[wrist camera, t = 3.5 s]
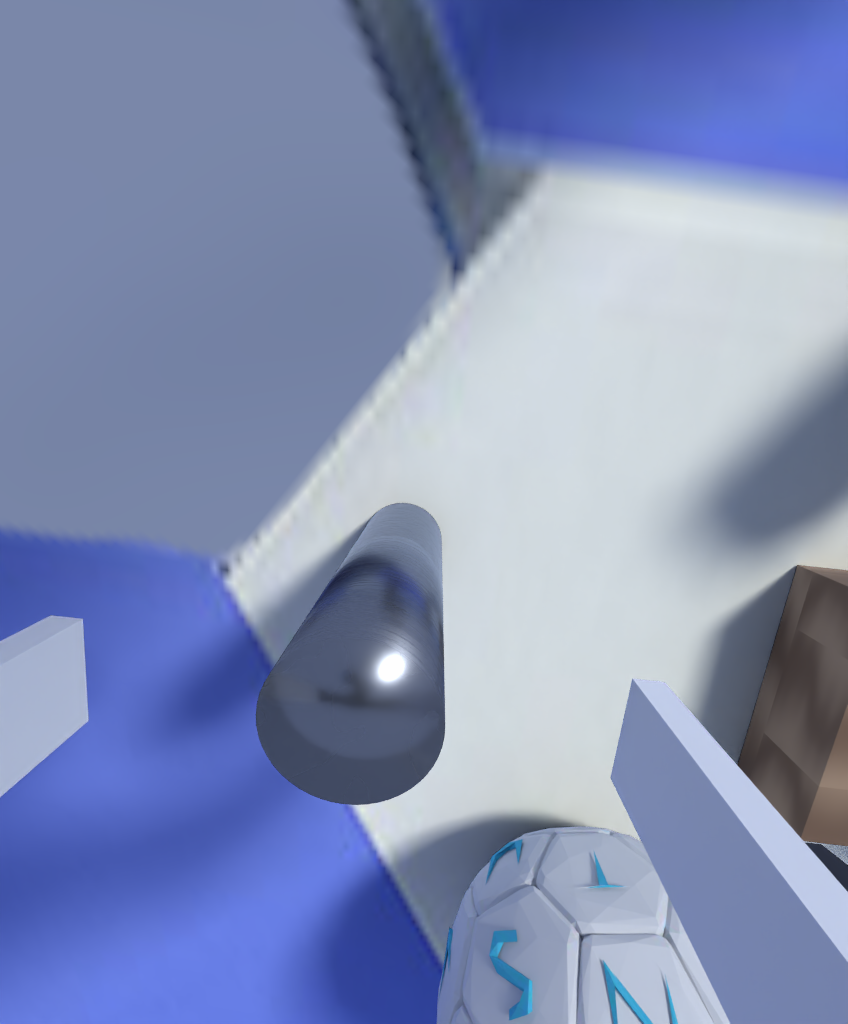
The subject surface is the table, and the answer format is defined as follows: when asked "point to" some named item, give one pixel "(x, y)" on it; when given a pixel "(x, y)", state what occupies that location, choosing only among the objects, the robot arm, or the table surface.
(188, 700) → the table surface
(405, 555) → the cylinder
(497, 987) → the puzzle ball
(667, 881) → the robot arm
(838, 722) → the bore block
